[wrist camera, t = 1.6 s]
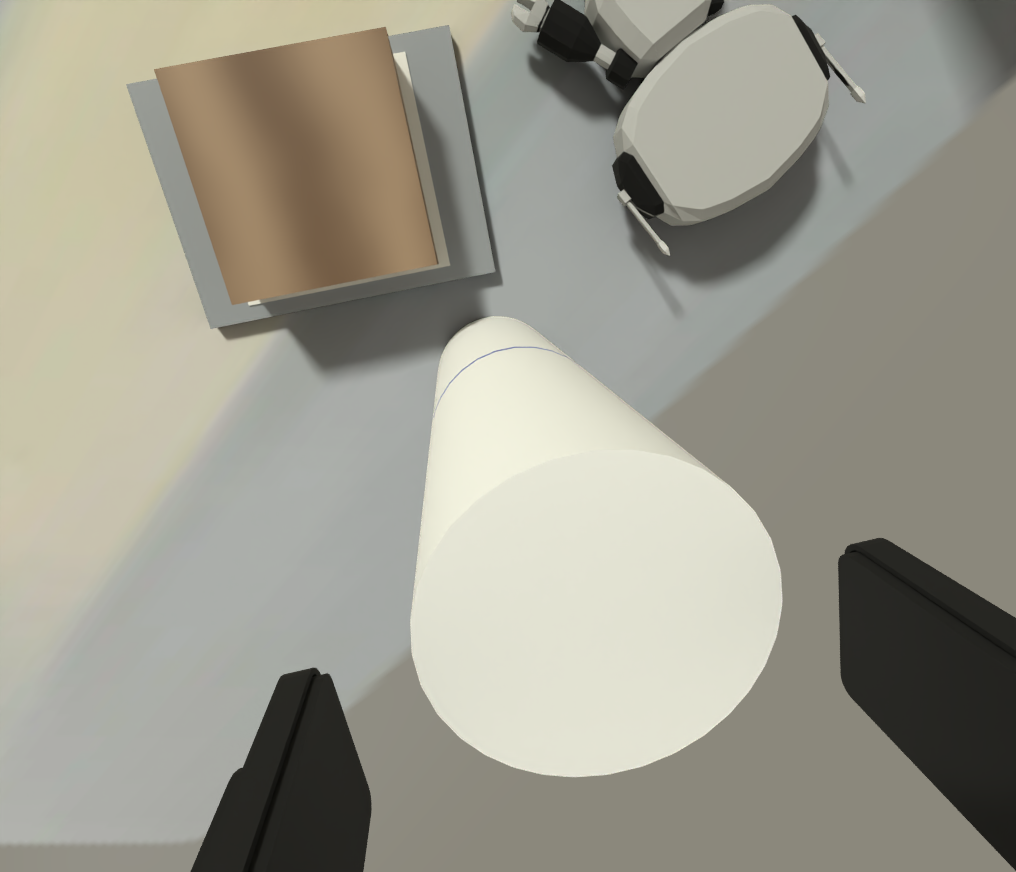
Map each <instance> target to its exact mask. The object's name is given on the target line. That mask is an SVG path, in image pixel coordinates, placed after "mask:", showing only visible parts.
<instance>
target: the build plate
mask: <svg viewBox="0 0 1016 872" xmlns="http://www.w3.org/2000/svg"><path fill="white" fill-rule="evenodd" d="M388 38H389V41H390V45H391V48H392V52H393V56H394V60H395V64H396V69H397V73H398V78H399V83H400V87H401V92H402V96H403V101H404V106H405V110H406V115H407V120H408V124H409V129H410V133H411V138H412V143H413V147H414V152H415V156H416V161H417V166H418V170H419V175H420V179H421V184H422V189H423V193H424V198H425V203H426V207H427V212H428V216H429V221H430V226H431V230H432V235H433V239H434V244H435V249H436V253H437V258H438V262H439V264H437V265H432V266H427V267H422V268H417V269H412V270H407V271H402V272H397V273H392V274H387V275H382V276H377V277H372V278H367V279H362V280H357V281H351V282H346V283H341V284H336V285H331V286H326V287H321V288H316V289H311V290H306V291H301V292H296V293H291V294H286V295H281V296H276V297H271V298H266V299H261V300H256V301H251V302H246V303H241V304H236V305H232V304H231V301H230V298H229V295H228V292H227V289H226V285H225V282H224V279H223V276H222V273H221V270H220V267H219V264H218V261H217V258H216V255H215V252H214V249H213V246H212V243H211V240H210V237H209V234H208V231H207V228H206V225H205V222H204V219H203V216H202V213H201V210H200V207H199V204H198V201H197V198H196V195H195V192H194V189H193V186H192V183H191V180H190V177H189V174H188V171H187V168H186V165H185V162H184V159H183V156H182V152H181V149H180V146H179V143H178V140H177V137H176V134H175V131H174V128H173V125H172V122H171V119H170V116H169V113H168V110H167V107H166V104H165V101H164V98H163V95H162V92H161V89H160V86H159V83H158V80H157V79H153V80H147V81H142V82H136V83H131V84H126V85H127V88H128V91H129V94H130V97H131V100H132V103H133V106H134V108H135V111H136V114H137V117H138V120H139V123H140V126H141V129H142V132H143V134H144V137H145V140H146V143H147V146H148V149H149V152H150V155H151V158H152V160H153V163H154V166H155V169H156V172H157V175H158V178H159V181H160V184H161V186H162V189H163V192H164V195H165V198H166V201H167V204H168V207H169V209H170V212H171V215H172V218H173V221H174V224H175V227H176V230H177V233H178V235H179V238H180V241H181V244H182V247H183V250H184V253H185V256H186V259H187V261H188V264H189V267H190V270H191V273H192V276H193V279H194V282H195V285H196V287H197V290H198V293H199V296H200V299H201V302H202V305H203V308H204V311H205V313H206V316H207V319H208V322H209V325H210V328H211V329H213V328H218V327H223V326H228V325H233V324H238V323H243V322H248V321H253V320H258V319H263V318H268V317H273V316H278V315H283V314H288V313H293V312H298V311H303V310H308V309H313V308H318V307H323V306H328V305H333V304H338V303H343V302H348V301H353V300H358V299H363V298H368V297H373V296H378V295H383V294H388V293H393V292H398V291H403V290H408V289H413V288H418V287H423V286H428V285H433V284H438V283H443V282H448V281H453V280H458V279H463V278H468V277H473V276H478V275H483V274H488V273H493V272H495V267H494V262H493V256H492V251H491V246H490V240H489V235H488V230H487V224H486V219H485V214H484V208H483V203H482V198H481V193H480V187H479V182H478V177H477V171H476V166H475V161H474V155H473V150H472V145H471V139H470V134H469V129H468V124H467V118H466V113H465V108H464V102H463V97H462V92H461V86H460V81H459V76H458V70H457V65H456V60H455V55H454V49H453V44H452V39H451V33H450V28H449V25H447V26H441V27H436V28H430V29H425V30H419V31H414V32H409V33H403V34H398V35H392V36H388Z"/></svg>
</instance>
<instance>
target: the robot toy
mask: <svg viewBox="0 0 1016 872" xmlns="http://www.w3.org/2000/svg"><path fill="white" fill-rule="evenodd" d="M517 2H518V3H520V4H522V5H524V6H525V7H527V8H528V9H530V10H531V12H530V13H529V12H528V11H526V10H524V9H522V8H521V7H519V6H517V5H516V4H514V7H513V9H512V12H511V15H512V22H513V23H514V24H515V25H516V26H517V27H518V28H519V29H520V30H521V31H523V32H540V34H539V37H538V40H537V44H539V45H540V46H542V47H543V48H545V49H547V50H548V51H550V52H552V53H553V54H555V55H557V56H558V57H560V58H562V59H563V60H565V61H567V62H587V61H594V62H596V63H597V64H599V65H600V66H602V67H604V68H605V69H607V71H606V79H607V80H609V81H610V82H612V83H613V84H615V85H617V86H618V87H620V88H622V89H624V88H625V87H626V85H627V83H628V82H629V80H630V78H631V77H643V78H645V77H646V76H647V77H646V78H645V79H644V81H643V82H642V83H641V85H640V86H639V87H638V89H637V90H636V91H635V93H634V94H633V96H632V97H631V99H630V100H629V101H628V103H627V104H626V106H625V107H624V109H623V111H622V113H621V115H620V117H619V120H618V123H617V126H616V130H615V133H614V136H613V140H614V145H615V150H616V155H617V159H616V160H615V162H614V164H613V165H612V167H613V171H614V175H615V179H616V184H617V187H618V188H619V190H620V191H621V192H620V193H619V194H618V196H617V198H618V200H619V201H620V202H621V203H622V205H623V206H624V207H625V206H627V207H628V208H629V209H630V211H631V212H632V213H633V214H634V216H635V217H636V218H637V219H638V221H639V222H640V223H641V225H642V226H643V227H644V228H645V230H646V231H647V232H648V233H649V235H650V236H651V237H652V238H653V240H654V241H655V242H656V243H657V245H658V248H659V249H660V250H661V251H662V253H663V254H666V255H668V256H670V253H669V248H668V247H667V245H666V244H665V243H664V242H663V241H661V240H660V238H659V237H658V236H657V235H656V233H655V232H654V231H653V230H652V228H651V227H650V226H649V225H648V223H647V222H646V221H645V219H644V218H643V217H642V216H644V217H645V218H647V219H650V218H653V217H658V218H659V219H661V220H662V221H664V222H666V223H667V224H669V225H671V226H682V225H693V224H696V223H700V222H703V221H706V220H709V219H712V218H714V217H717V216H719V215H722V214H724V213H726V212H729V211H731V210H734V209H735V208H737V207H739V206H741V205H742V204H744V203H746V202H748V201H749V200H751V199H753V198H755V197H756V196H758V195H760V194H762V193H764V192H765V191H767V190H769V189H770V188H771V187H772V186H773V185H774V184H775V183H776V182H777V181H778V180H779V179H780V178H781V177H782V176H783V174H784V173H785V172H786V171H787V170H788V169H789V168H790V167H791V166H792V165H793V164H794V163H795V162H796V161H797V160H798V159H799V158H800V157H801V155H802V154H803V153H804V151H805V150H806V149H807V147H808V146H809V145H810V144H811V142H812V141H813V140H814V138H815V136H816V135H817V133H818V132H819V130H820V128H821V126H822V123H823V120H824V118H825V115H826V112H827V110H828V107H829V100H828V79H829V78H830V74H829V69H828V66H827V64H828V65H829V66H830V67H831V69H832V70H833V71H834V72H835V74H836V75H837V76H838V77H839V78H840V80H841V81H842V82H843V83H844V84H845V86H846V87H847V88H848V89H849V90H850V92H851V95H852V97H853V98H854V99H855V100H856V101H857V102H862V103H865V93H864V92H863V90H862V89H861V88H860V87H859V86H858V87H857V86H856V85H855V83H854V82H853V81H852V80H851V79H850V77H849V76H848V75H847V74H846V73H845V71H844V70H843V69H842V68H841V66H840V65H839V64H838V63H837V62H836V60H835V59H834V58H833V57H832V56H831V54H830V53H829V52H828V51H827V50H826V48H825V47H824V46H823V45H824V44H825V41H824V40H823V39H822V37H821V36H820V35H819V34H818V33H817V34H815V35H814V33H813V32H812V30H811V29H810V28H809V27H808V26H807V25H805V23H804V22H803V21H802V20H801V19H800V18H799V17H798V16H797V15H794V16H791V15H789V14H787V13H786V12H784V11H782V10H780V9H779V8H777V7H775V6H773V5H772V4H766V5H748V6H744V7H740V8H737V9H735V10H733V11H730V12H728V13H726V14H723V15H721V16H719V17H717V18H715V19H713V20H712V21H710V22H708V23H707V24H705V25H703V26H702V27H700V26H701V25H702V24H703V23H704V22H705V20H706V17H707V16H710V15H712V14H715V13H716V12H717V11H718V10H719V9H720V8H722V5H723V3H724V0H585V11H584V15H583V14H582V13H580V12H579V11H577V10H575V9H574V8H572V7H571V6H569V5H567V4H566V3H564V2H563V1H561V0H554V2H553V4H552V6H551V8H550V7H549V5H548V4H547V2H546V0H517ZM641 215H642V216H641Z"/></svg>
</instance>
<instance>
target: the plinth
mask: <svg viewBox="0 0 1016 872" xmlns="http://www.w3.org/2000/svg"><path fill="white" fill-rule="evenodd" d="M154 71H155V74H156V77H157V80H158V83H159V86H160V89H161V92H162V95H163V98H164V101H165V104H166V107H167V110H168V113H169V116H170V119H171V122H172V125H173V128H174V131H175V134H176V137H177V140H178V143H179V146H180V149H181V152H182V156H183V159H184V162H185V165H186V168H187V171H188V174H189V177H190V180H191V183H192V186H193V189H194V192H195V195H196V198H197V201H198V204H199V207H200V210H201V213H202V216H203V219H204V222H205V225H206V228H207V231H208V234H209V237H210V240H211V243H212V246H213V249H214V252H215V255H216V258H217V261H218V264H219V267H220V270H221V273H222V276H223V279H224V282H225V285H226V289H227V292H228V295H229V298H230V301H231V304H232V305H236V304H241V303H246V302H251V301H256V300H261V299H266V298H271V297H276V296H281V295H286V294H291V293H296V292H301V291H306V290H311V289H316V288H321V287H326V286H331V285H336V284H341V283H346V282H351V281H357V280H362V279H367V278H372V277H377V276H382V275H387V274H392V273H397V272H402V271H407V270H412V269H417V268H422V267H427V266H432V265H437V264H439V262H438V258H437V253H436V249H435V244H434V239H433V235H432V230H431V226H430V221H429V216H428V212H427V207H426V203H425V198H424V193H423V189H422V184H421V179H420V175H419V170H418V166H417V161H416V156H415V152H414V147H413V143H412V138H411V133H410V129H409V124H408V120H407V115H406V110H405V106H404V101H403V96H402V92H401V87H400V83H399V78H398V73H397V69H396V64H395V60H394V56H393V52H392V48H391V45H390V41H389V38H388V34H387V30H386V27H383V28H377V29H372V30H366V31H361V32H355V33H350V34H344V35H339V36H333V37H328V38H323V39H317V40H312V41H306V42H301V43H295V44H290V45H284V46H279V47H273V48H268V49H262V50H257V51H252V52H246V53H241V54H235V55H230V56H224V57H219V58H213V59H208V60H202V61H197V62H191V63H186V64H181V65H175V66H170V67H164V68H159V69H154Z"/></svg>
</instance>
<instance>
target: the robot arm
mask: <svg viewBox="0 0 1016 872" xmlns="http://www.w3.org/2000/svg"><path fill="white" fill-rule="evenodd" d="M838 571H839V617H840V661H841V662H840V664H841V679H842V682H843V685H844V687H845V689H846V691H847V692H848V694H849V695H850V697H851V698H852V699H853V700H854V701H855V702H856V703H857V704H858V705H859V706H860V707H861V708H862V709H863V711H865V713H866V714H867V715H868V716H869V717H870V718H871V719H872V720H873V721H874V722H875V723H876V724H877V725H878V726H879V727H880V728H881V730H882V731H883V732H884V733H885V734H887V736H888V737H889V738H890V739H891V740H892V741H893V742H894V743H895V744H896V745H897V746H898V747H899V748H900V749H901V751H902V752H903V753H904V754H905V755H906V756H907V757H908V758H909V759H910V760H911V761H912V762H913V763H914V764H915V765H916V766H917V767H918V768H919V769H920V770H921V771H922V773H923V774H924V775H925V776H926V777H927V778H928V779H929V780H930V781H931V782H932V783H933V784H934V785H935V786H936V787H937V788H938V789H939V791H940V792H941V793H942V794H943V795H944V796H945V797H946V798H947V799H948V800H949V801H950V802H951V803H952V804H953V805H954V806H955V807H956V808H957V809H958V811H960V812H961V814H962V815H963V816H964V817H965V818H966V819H967V820H968V821H969V822H970V823H971V824H972V825H973V826H974V827H975V828H976V829H977V831H979V833H980V834H981V835H982V836H983V837H984V838H985V839H986V840H987V841H988V842H989V843H990V844H991V845H992V846H993V847H994V848H995V849H996V851H998V853H1000V855H1001V856H1002V857H1003V858H1004V859H1005V860H1006V861H1007V862H1008V863H1009V864H1010V865H1011V866H1012V867H1013V868H1014V869H1015V870H1016V618H1015V617H1013V616H1011V615H1010V614H1008V613H1007V612H1005V611H1003V610H1002V609H1000V608H998V607H997V606H995V605H993V604H992V603H990V602H989V601H987V600H985V599H984V598H982V597H980V596H979V595H977V594H975V593H974V592H972V591H970V590H969V589H967V588H966V587H964V586H962V585H960V584H959V583H957V582H956V581H954V580H952V579H951V578H949V577H947V576H946V575H944V574H942V573H941V572H939V571H938V570H936V569H934V568H933V567H931V566H929V565H928V564H926V563H924V562H923V561H921V560H920V559H918V558H916V557H915V556H913V555H911V554H910V553H908V552H906V551H905V550H903V549H901V548H900V547H898V546H897V545H895V544H893V543H892V542H890V541H888V540H886V539H884V538H876V539H872V540H868V541H863V542H859V543H855V544H851V545H849V546H847V548H846V550H845V554H844V555H842V556H840V558H839V562H838ZM370 818H371V795H370V790H369V787H368V784H367V781H366V778H365V775H364V772H363V769H362V766H361V763H360V760H359V757H358V754H357V751H356V749H355V745H354V743H353V740H352V737H351V734H350V731H349V728H348V725H347V722H346V719H345V716H344V713H343V710H342V707H341V704H340V701H339V698H338V695H337V692H336V689H335V687H334V684H333V681H332V678H331V676H330V675H329V674H323V675H321V674H320V672H319V671H318V669H317V668H310V669H306V670H301V671H297V672H293V673H288V674H284V675H282V676H281V677H280V679H279V680H278V683H277V685H276V688H275V690H274V693H273V695H272V697H271V700H270V702H269V705H268V707H267V710H266V712H265V715H264V717H263V720H262V722H261V724H260V727H259V729H258V732H257V734H256V737H255V739H254V742H253V744H252V746H251V749H250V751H249V754H248V756H247V759H246V761H245V764H244V766H243V768H240V769H238V770H237V771H236V772H235V773H234V774H233V775H232V777H231V779H230V781H229V782H228V785H227V787H226V789H225V792H224V794H223V797H222V799H221V801H220V804H219V806H218V808H217V811H216V813H215V815H214V818H213V820H212V822H211V825H210V827H209V829H208V832H207V834H206V837H205V839H204V841H203V844H202V846H201V848H200V851H199V853H198V855H197V858H196V860H195V863H194V865H193V867H192V870H191V872H363V869H364V862H365V854H366V847H367V839H368V833H369V825H370Z"/></svg>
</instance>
